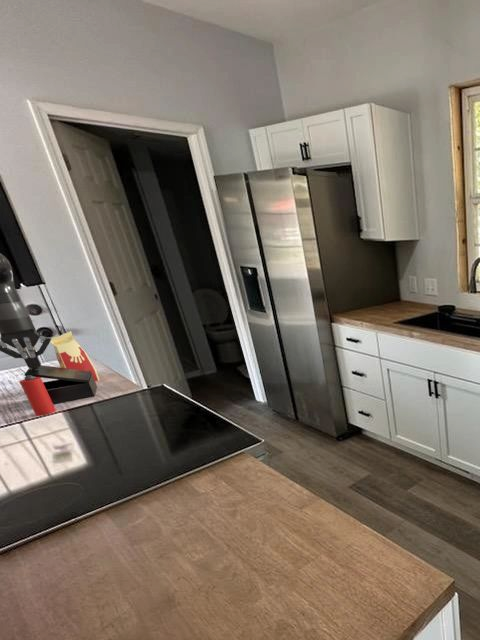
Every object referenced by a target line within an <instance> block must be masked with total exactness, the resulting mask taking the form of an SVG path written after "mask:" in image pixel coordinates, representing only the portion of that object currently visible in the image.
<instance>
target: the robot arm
mask: <svg viewBox="0 0 480 640" xmlns="http://www.w3.org/2000/svg"><path fill="white" fill-rule="evenodd" d="M14 277H15V276H14V272H13V267H12V265H11V262H10V261H9V259H8V258H7V257H6V256H5V255H3V253H1V252H0V352H1V353H4V354H5V355H8V356H9V357H12V358H14V359H23V360H24V362H25V364H26V367H27V368H28V369H29V368H32V370H33V369H39V368H40V366H41V365H42V363H41V360H40V358H39V356H41V355H43V354H44V353H45V352H46V349H47V348H48V347H49V345H50V344H51V342H50V341H51V340H52V339H51V338H52V337H50V336H44V335H41V333H40V332H38V331H37V330H36V329H37V328H36V327H35V325H34V323H33V320H32V319H31V316H30V314H29V312H28V310H27V308H26V306H25V304H24V303H23V301H22V300H21V297H20V296H19V293H18V291H17V288H16V287H15V278H14ZM39 340H40V343H41V345H40V347H39V349H38V350H36V345H37V343H38V342H39ZM8 346H10V347H12V348H13V349H15V350H16V351H15V350H13V349H11V348H9V347H8ZM17 351H18V352H17Z"/></svg>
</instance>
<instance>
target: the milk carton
mask: <svg viewBox="0 0 480 640" xmlns="http://www.w3.org/2000/svg"><path fill="white" fill-rule="evenodd" d="M50 338H51V339H52V340H51V341H50V344H52V345H53V349H54V351H55V352H54V353H55V356H56V359H57V362H58V366H59V367H60V368H68V369H76V370H85V371H92V372H91V374H92V375H93V378H94V380H95V382H99V381H100V377H99V374H98V371H97V369H96V367H95V365H94V364H93V362H92V361H91V359H90V357H89V355H88V354H87V352H86V351H85V350H84V349H83V348H82V346H81V345H80V344H79V343H78V342H77V341H76V339H75V338H74V336H73V332H72V330H70V331H68V332H66V333H62V334H61V335H59V336H55V337H50Z"/></svg>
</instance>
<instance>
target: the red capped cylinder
mask: <svg viewBox="0 0 480 640" xmlns="http://www.w3.org/2000/svg"><path fill="white" fill-rule="evenodd" d="M42 379H43V378H41V377H34V376H32V375H28V376H24V379H21V380H19V384H20V386H21V388H22V390H23V392H24V394H25V396H26V398H27V400H28V402H29V405H30V406H31V408H32V410H33V412H34V415H35V416H36V417H42V416H47V415H51V414H54V413H56V411H57V410H56V407H55V404H54V405H53V403H52V401H51V399H50V396H49V394H48V392H47V390H46V388H45V386H44V384H43V382H44V381H43V380H42Z"/></svg>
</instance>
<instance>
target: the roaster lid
mask: <svg viewBox="0 0 480 640" xmlns="http://www.w3.org/2000/svg"><path fill="white" fill-rule="evenodd" d="M91 372H92V371H85V370H76V369H68V368H61V367H60V366H50V365H42V364H41V366H40V368H39V369H33V370H32V368H29V367H28V368H27V370H26V372H25V373H24V377H26V376H28V375H32V376H34V377H41V379H51V380H68V381H77V382H87V383H88V381H89V378H90V375H91Z"/></svg>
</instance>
